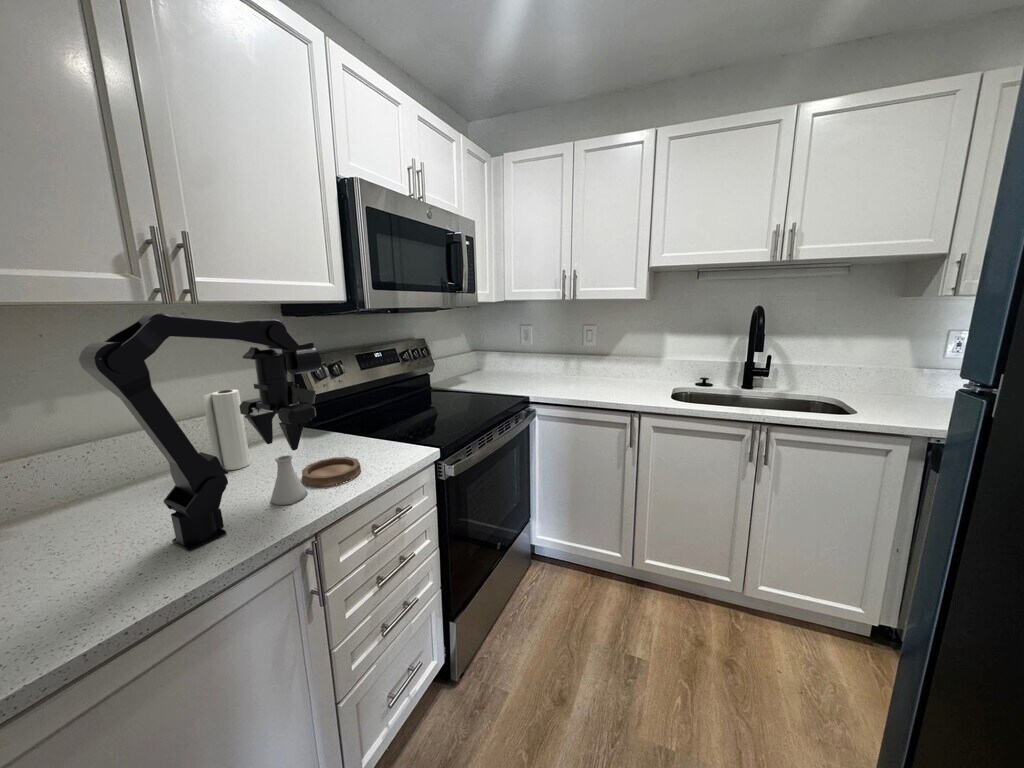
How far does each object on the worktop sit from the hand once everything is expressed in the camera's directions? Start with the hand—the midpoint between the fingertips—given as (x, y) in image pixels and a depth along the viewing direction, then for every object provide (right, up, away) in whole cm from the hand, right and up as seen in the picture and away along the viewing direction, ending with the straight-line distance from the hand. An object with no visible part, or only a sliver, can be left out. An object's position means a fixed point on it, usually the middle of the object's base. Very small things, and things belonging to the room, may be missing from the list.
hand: (282, 446), depth 90 cm
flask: (0, -13, +3) cm, 13 cm away
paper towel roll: (-25, -9, +22) cm, 35 cm away
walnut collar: (+5, -10, +15) cm, 18 cm away
